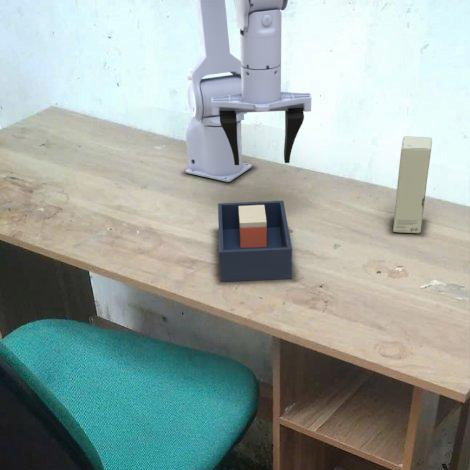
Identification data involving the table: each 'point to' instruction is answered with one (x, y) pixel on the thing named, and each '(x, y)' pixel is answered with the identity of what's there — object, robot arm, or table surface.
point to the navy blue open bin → (257, 258)
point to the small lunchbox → (252, 226)
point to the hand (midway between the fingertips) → (261, 161)
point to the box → (412, 184)
